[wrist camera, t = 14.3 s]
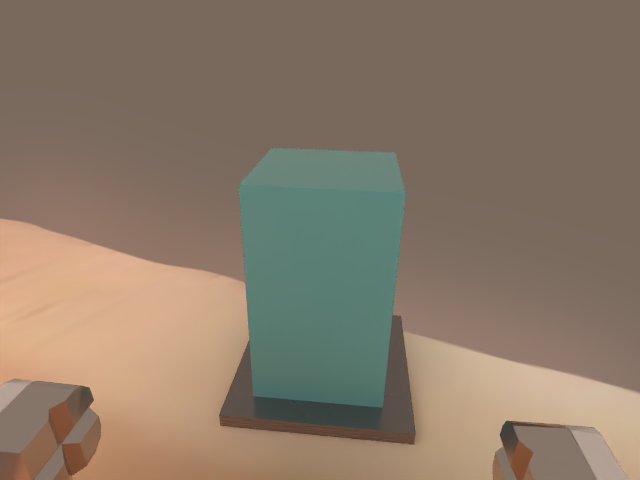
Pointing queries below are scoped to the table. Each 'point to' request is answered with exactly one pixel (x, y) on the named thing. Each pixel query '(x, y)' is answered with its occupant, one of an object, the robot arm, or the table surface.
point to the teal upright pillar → (321, 272)
